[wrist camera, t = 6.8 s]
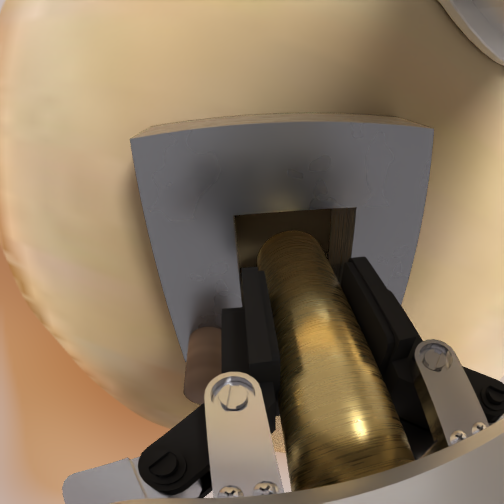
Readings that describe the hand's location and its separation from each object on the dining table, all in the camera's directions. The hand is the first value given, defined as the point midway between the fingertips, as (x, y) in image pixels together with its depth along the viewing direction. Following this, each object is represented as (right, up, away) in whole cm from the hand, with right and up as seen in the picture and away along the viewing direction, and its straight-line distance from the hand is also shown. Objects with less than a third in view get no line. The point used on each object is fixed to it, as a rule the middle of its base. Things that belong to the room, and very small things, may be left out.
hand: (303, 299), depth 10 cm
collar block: (0, +3, +4) cm, 5 cm away
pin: (0, +1, +2) cm, 3 cm away
